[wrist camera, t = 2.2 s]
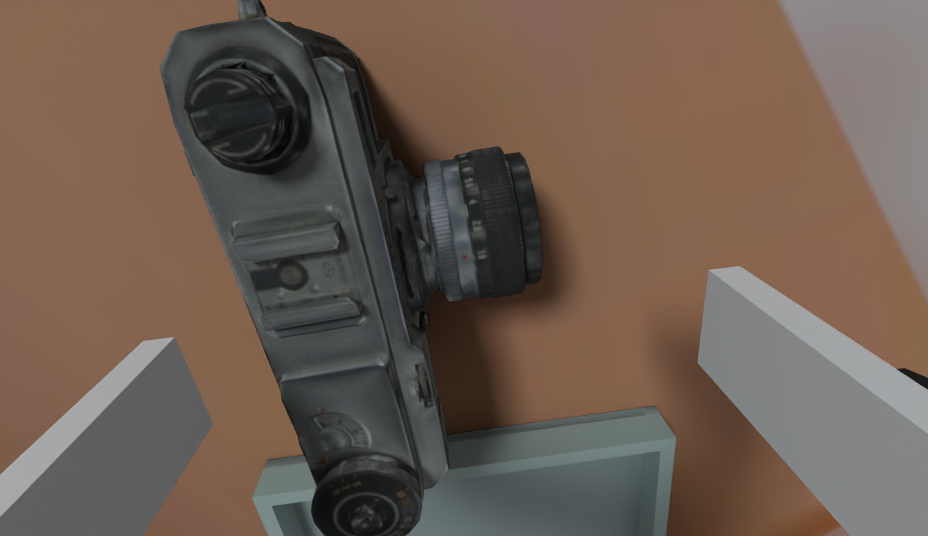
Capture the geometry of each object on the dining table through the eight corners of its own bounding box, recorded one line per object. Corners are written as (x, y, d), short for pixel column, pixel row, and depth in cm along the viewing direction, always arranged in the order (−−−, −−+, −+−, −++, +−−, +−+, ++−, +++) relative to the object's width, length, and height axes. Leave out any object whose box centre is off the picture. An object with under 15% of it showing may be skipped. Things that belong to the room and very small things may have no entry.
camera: (533, 363, 25) (596, 536, 16) (367, 394, 25) (331, 585, 16) (484, -9, 18) (547, -98, 8) (251, 34, 18) (56, -6, 8)
